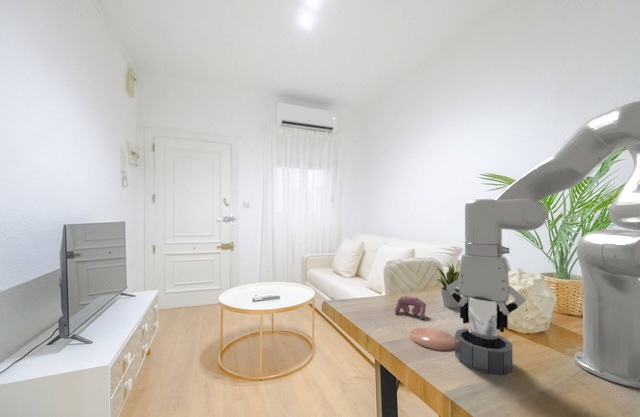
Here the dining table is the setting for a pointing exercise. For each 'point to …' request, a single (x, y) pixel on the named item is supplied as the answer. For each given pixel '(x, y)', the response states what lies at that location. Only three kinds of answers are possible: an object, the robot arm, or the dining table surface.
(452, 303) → the house plant
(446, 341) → the coaster
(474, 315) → the beer glass
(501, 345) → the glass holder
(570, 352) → the dining table surface
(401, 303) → the video game controller
